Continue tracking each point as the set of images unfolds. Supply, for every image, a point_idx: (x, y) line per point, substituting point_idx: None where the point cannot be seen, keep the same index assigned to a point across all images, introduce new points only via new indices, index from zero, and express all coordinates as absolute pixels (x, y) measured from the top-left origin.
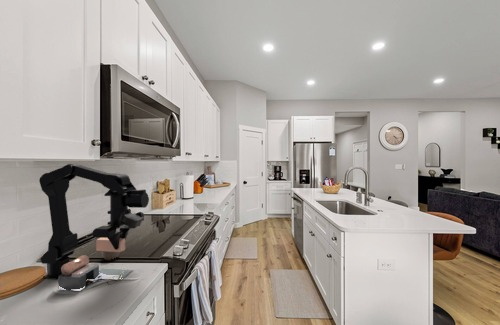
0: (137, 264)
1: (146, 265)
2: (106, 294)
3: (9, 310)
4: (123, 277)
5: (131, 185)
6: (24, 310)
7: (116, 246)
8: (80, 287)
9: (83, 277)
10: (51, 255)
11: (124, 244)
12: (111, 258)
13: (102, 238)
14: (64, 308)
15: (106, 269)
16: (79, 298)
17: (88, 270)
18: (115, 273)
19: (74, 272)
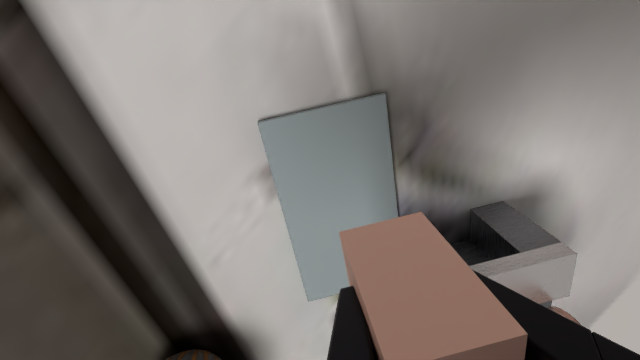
0: (169, 171)
1: (143, 91)
2: (519, 41)
3: (609, 296)
4: (356, 99)
5: None
6: (614, 258)
7: (497, 290)
8: (511, 211)
9: (526, 239)
10: None
11: (371, 277)
12: (213, 356)
13: None
14: (619, 135)
15: (311, 276)
16: (552, 148)
17: (509, 264)
18: (331, 191)
19: (552, 299)
